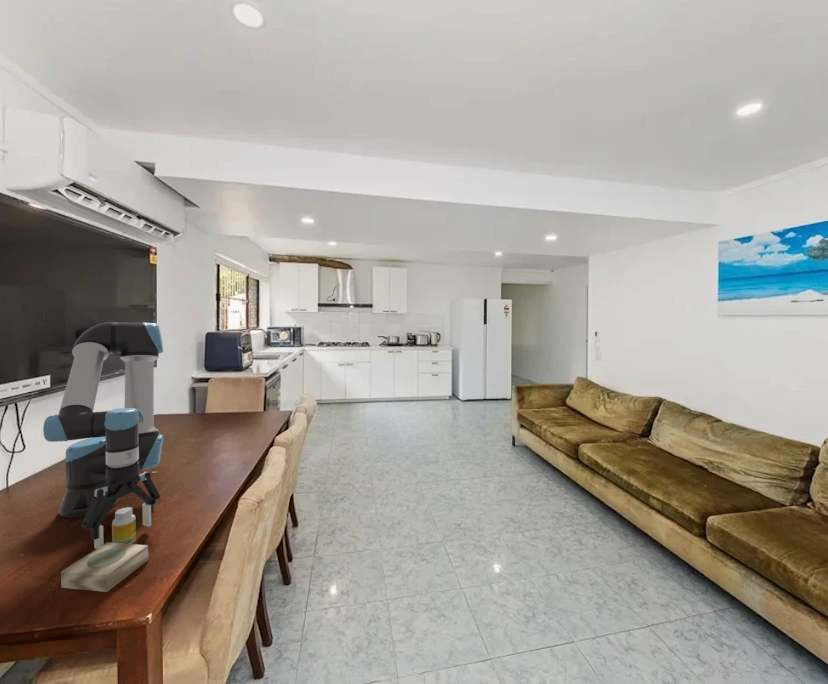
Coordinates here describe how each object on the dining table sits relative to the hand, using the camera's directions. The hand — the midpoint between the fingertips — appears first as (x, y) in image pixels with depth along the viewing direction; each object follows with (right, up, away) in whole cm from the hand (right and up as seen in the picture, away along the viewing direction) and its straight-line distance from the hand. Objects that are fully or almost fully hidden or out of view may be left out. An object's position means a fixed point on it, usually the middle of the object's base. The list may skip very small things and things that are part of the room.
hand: (124, 536), depth 106 cm
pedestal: (+6, -3, -13) cm, 14 cm away
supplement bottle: (0, -2, 0) cm, 2 cm away
